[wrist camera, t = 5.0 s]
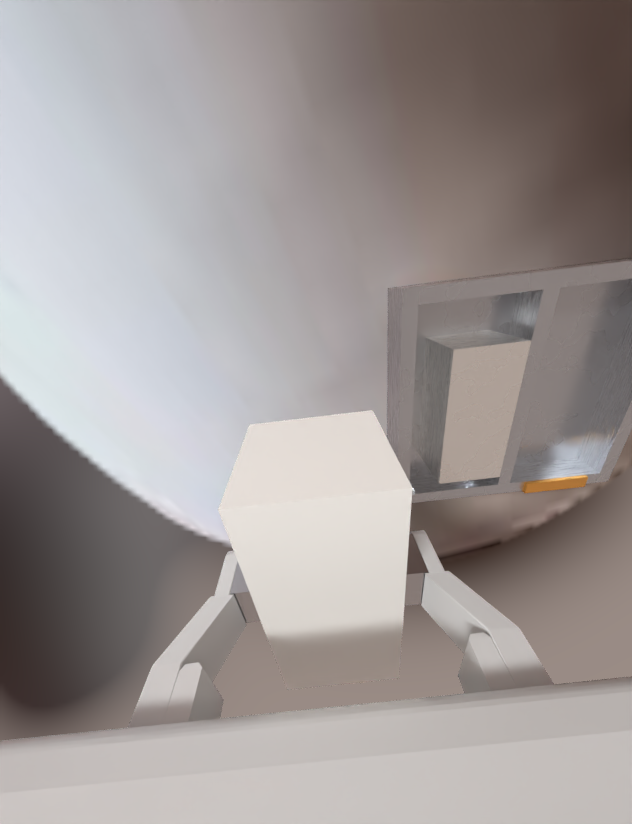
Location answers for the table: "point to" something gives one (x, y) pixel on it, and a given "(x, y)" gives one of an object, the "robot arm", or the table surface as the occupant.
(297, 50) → the table surface
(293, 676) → the white rectangular block
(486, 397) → the tray
